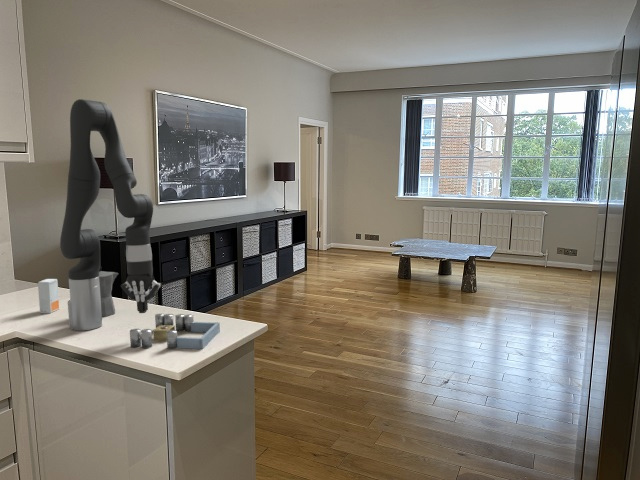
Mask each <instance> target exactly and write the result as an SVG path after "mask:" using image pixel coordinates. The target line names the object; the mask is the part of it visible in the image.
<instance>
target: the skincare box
mask: <svg viewBox="0 0 640 480" xmlns="http://www.w3.org/2000/svg"><path fill="white" fill-rule="evenodd" d="M37 287H38V289H37V290H38V302H39V313H40V314H51V313H54V312H55V311H58V310H60V299H59V297H60V296H59V283H58V278H45V279H43V280H41V281H38V282H37Z"/></svg>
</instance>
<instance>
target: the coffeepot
mask: <svg viewBox="0 0 640 480" xmlns="http://www.w3.org/2000/svg"><path fill="white" fill-rule="evenodd" d="M102 267H103V266H100V270H99V282H100V297H101V312H102V318H106V317H111V316H113V315H115V314H116V308H115V304H114V300H113V296H112V291H113V284H114V281H115V279H116V278H117V277H118V275H120V274H119V273H118V272H115V271H104V270H103V271H102Z"/></svg>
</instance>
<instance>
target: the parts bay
mask: <svg viewBox="0 0 640 480" xmlns="http://www.w3.org/2000/svg"><path fill="white" fill-rule="evenodd" d="M220 325H221V324H220V322H213V321H194V322H191V332H195V333H196V332H198V333H199V332H200V333H204V334H203V335H202V336H201V337H187V336H185V337H184V336H177V348H178V349H198V350H199V349H200V350H203V349H205V348H206V346H207V345H208V344H209V343H210V342H211V341H212V340H213V339H214V338H215V337H216V336H217V335H218V334H219V333H220V332H221V331H220V327H221V326H220ZM177 348H176V349H177Z"/></svg>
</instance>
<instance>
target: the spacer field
mask: <svg viewBox="0 0 640 480" xmlns="http://www.w3.org/2000/svg"><path fill="white" fill-rule="evenodd" d="M154 318H155V329H156V328H157V327H158V326H159V325H174V323H175V330H169V331H167V341H166V348H167V349H168V350H175V349H177V337H178V332H184V331H185V332H192V331H191V322H195V321H194V319H195V318H194V314H191V313H190V314H183V313H178V314H175V316H174V313H156V314H154ZM174 318H175V319H174ZM174 320H175V322H174ZM152 333H153V331H152V329H151V328H144V329H140V328H132V329H130V330H129V340H130V348H132V349H136V348H140V347H141V348H142V349H150V348H152V347H153V334H152Z"/></svg>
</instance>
